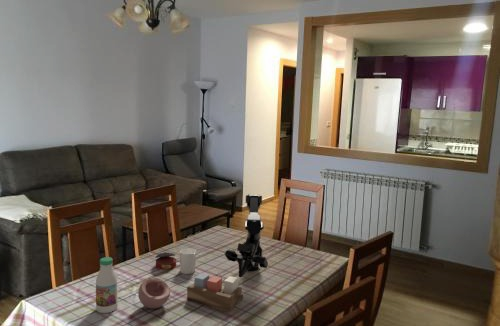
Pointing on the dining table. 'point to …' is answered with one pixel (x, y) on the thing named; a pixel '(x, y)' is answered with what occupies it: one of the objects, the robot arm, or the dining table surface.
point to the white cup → (187, 260)
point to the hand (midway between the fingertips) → (239, 276)
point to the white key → (230, 285)
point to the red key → (214, 284)
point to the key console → (214, 297)
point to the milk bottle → (106, 287)
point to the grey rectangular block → (201, 280)
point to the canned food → (165, 261)
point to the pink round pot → (153, 293)
